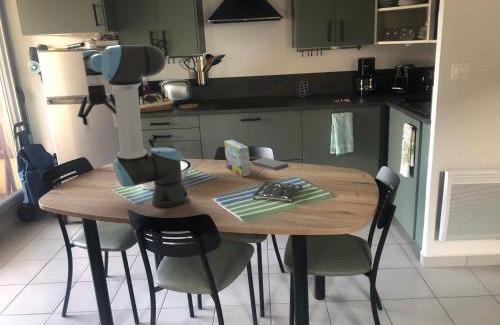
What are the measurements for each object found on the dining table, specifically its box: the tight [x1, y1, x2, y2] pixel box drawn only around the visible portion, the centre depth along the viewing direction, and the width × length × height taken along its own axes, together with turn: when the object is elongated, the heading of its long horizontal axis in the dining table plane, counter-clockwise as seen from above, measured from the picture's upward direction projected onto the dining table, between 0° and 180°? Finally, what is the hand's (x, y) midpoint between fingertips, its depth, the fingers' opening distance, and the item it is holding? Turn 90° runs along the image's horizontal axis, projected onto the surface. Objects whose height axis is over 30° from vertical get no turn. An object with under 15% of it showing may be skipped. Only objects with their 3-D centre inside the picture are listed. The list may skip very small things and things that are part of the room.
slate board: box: [251, 157, 289, 171], centre depth 219 cm, size 18×10×2 cm, turn 41°
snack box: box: [223, 139, 251, 178], centre depth 208 cm, size 21×6×15 cm, turn 25°
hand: (102, 129), depth 193 cm, fingers open, 13 cm apart
